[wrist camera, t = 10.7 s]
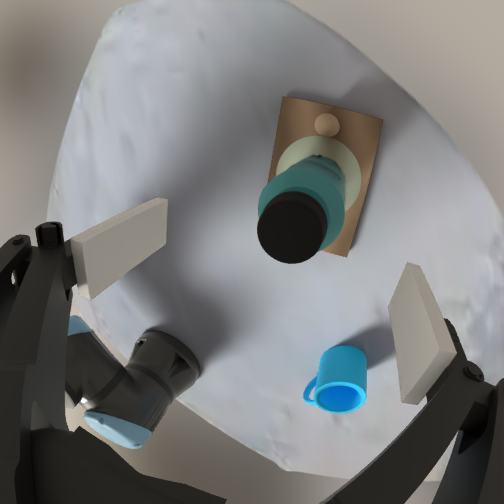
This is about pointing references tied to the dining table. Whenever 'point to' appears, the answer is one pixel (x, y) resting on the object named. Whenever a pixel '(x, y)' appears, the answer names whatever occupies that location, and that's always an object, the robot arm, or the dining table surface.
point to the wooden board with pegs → (329, 151)
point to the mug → (339, 380)
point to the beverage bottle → (302, 210)
